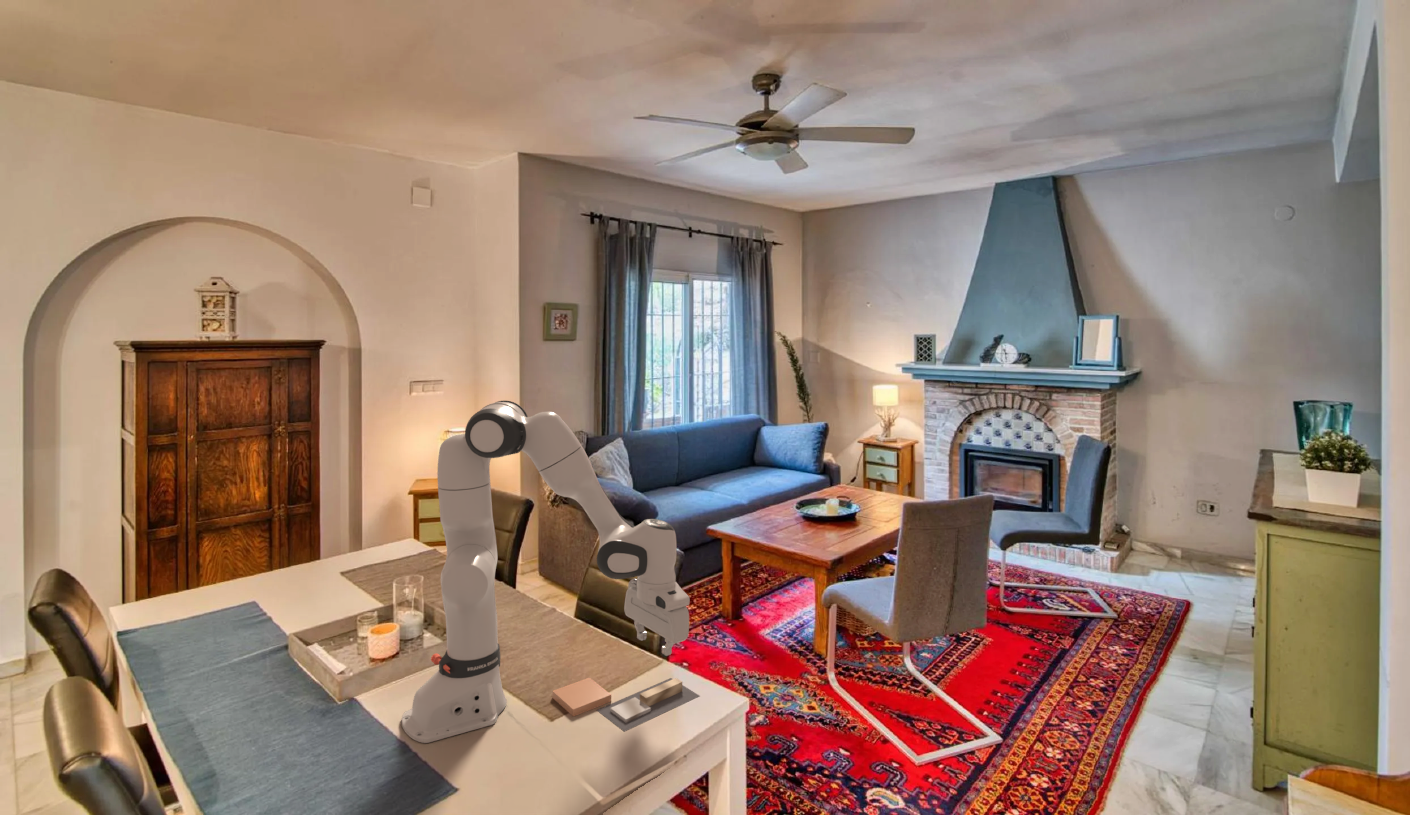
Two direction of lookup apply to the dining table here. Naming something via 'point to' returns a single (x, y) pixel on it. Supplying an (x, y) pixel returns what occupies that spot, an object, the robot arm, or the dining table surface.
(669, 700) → the mat
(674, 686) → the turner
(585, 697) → the tile
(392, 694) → the dining table surface
